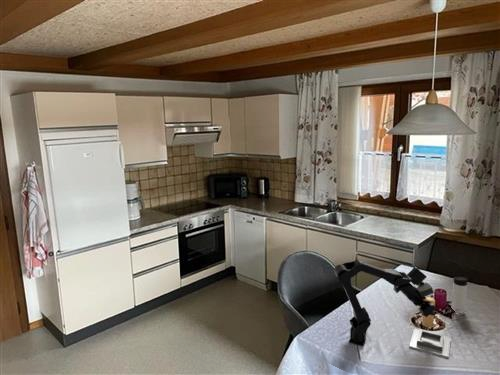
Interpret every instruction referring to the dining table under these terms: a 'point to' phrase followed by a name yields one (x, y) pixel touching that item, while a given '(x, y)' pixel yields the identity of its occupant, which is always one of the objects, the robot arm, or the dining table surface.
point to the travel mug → (459, 295)
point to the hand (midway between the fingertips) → (431, 312)
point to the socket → (430, 342)
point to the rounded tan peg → (429, 319)
